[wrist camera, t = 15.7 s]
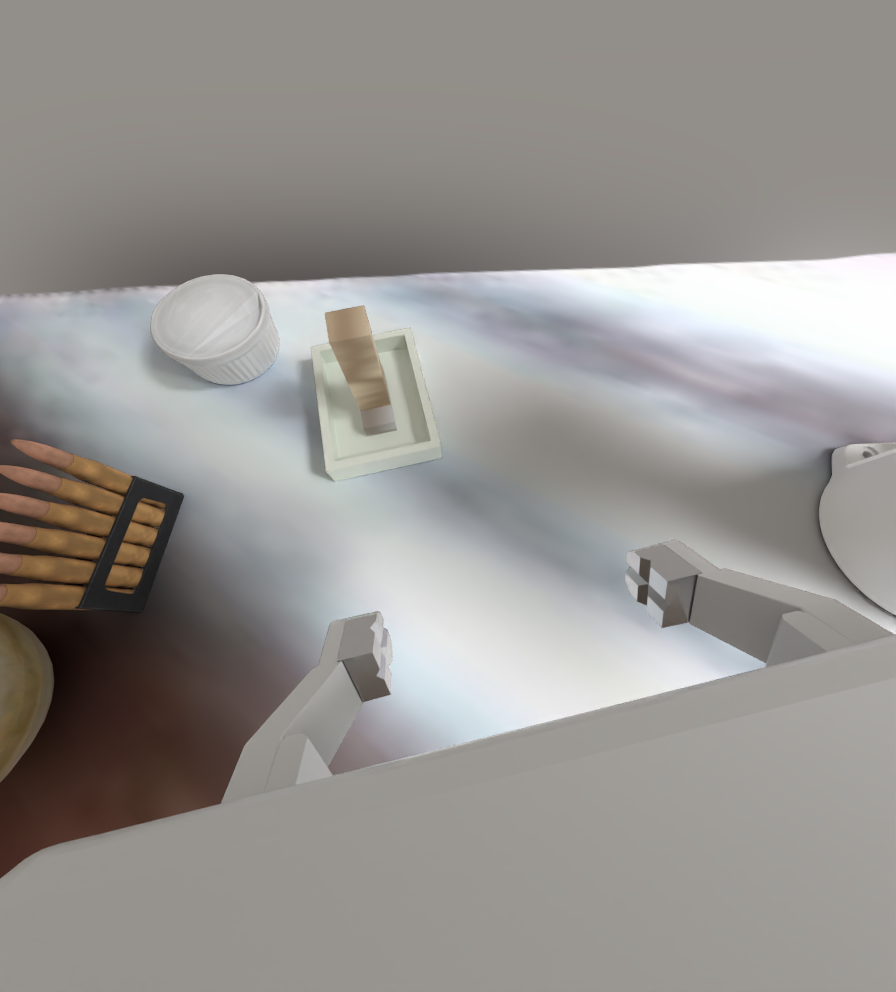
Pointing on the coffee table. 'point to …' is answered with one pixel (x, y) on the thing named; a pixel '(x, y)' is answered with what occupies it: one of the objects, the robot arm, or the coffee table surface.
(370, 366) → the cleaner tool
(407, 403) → the tray
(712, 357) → the coffee table surface
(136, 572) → the ammunition clip
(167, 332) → the ramekin
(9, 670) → the decorative ball
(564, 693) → the coffee table surface
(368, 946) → the robot arm
